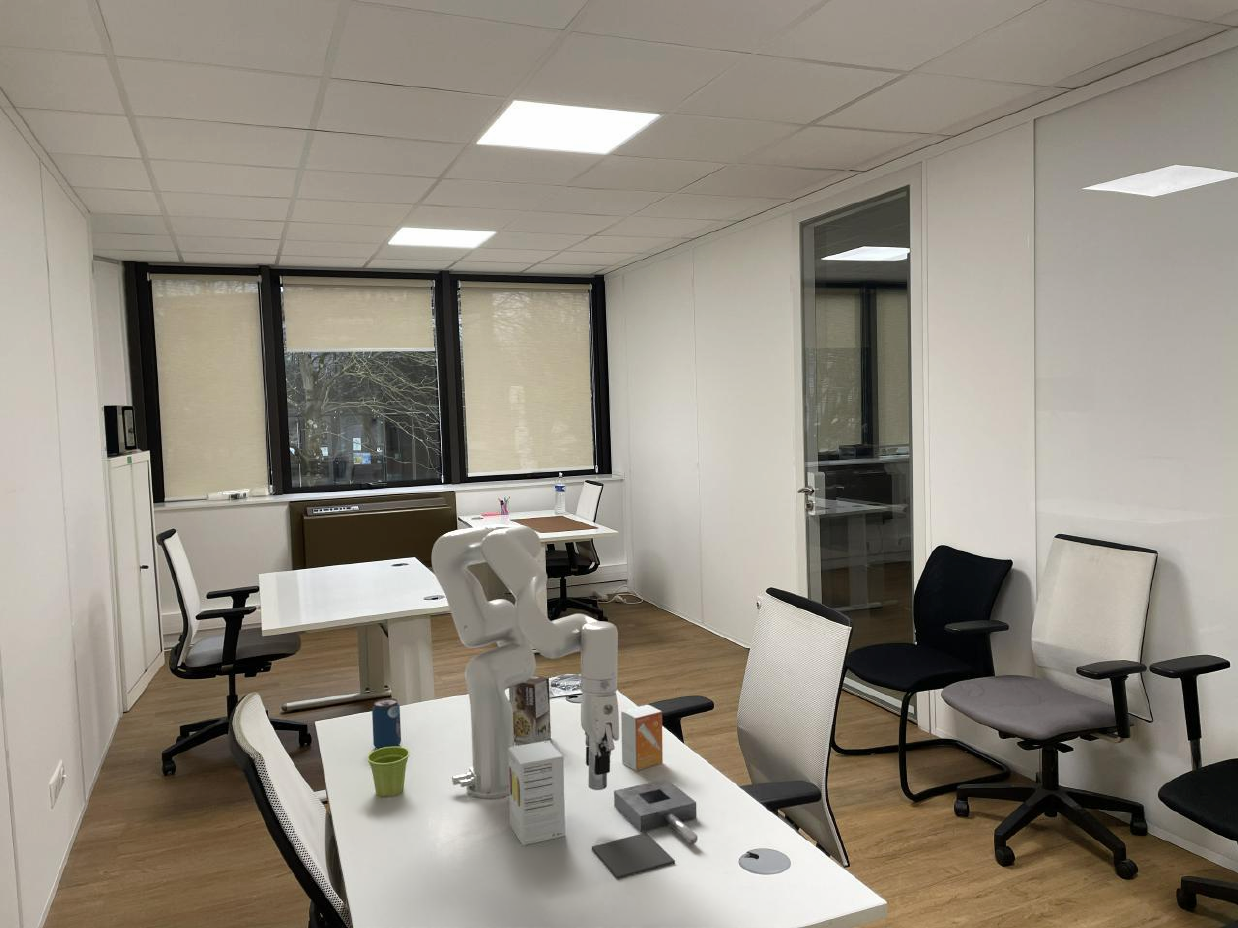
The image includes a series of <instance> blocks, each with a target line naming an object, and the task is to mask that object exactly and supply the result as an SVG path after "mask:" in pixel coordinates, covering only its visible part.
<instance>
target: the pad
mask: <svg viewBox="0 0 1238 928" xmlns="http://www.w3.org/2000/svg"><path fill="white" fill-rule="evenodd" d="M591 850H592V852H594V854H595V855H596V856H597V858H599V860H600V861H601V862H602V863H603V864H604V866H605V867H606V868H607V869H608V870H609V872H610V873H611V874H612V875H613V876H614V877H615V879H616V880H620V879H624V878H628V877H631V876H635V875H639V874H641V873H642V874H643V873H646V872H650V871H654V870H657V869H660V868H664V867H667V866H671V865H675V864H676V860H675V859H674V858H673V857H672V856H671V855H670V854H669V853H668V852H667V851H666V850H665V848H663V847H662V846H661V845H660V844H659V843H658V842H657V841H656V840H654V839H653V837H652V836H651V835H650V834H649V833H647V832H642V833H640V834H635V835H632V836H628V837H623V838H621V839H616V840H612V841H609V842H608V841H607V842H604V843H600V844H596V845H592V846H591Z"/></svg>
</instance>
